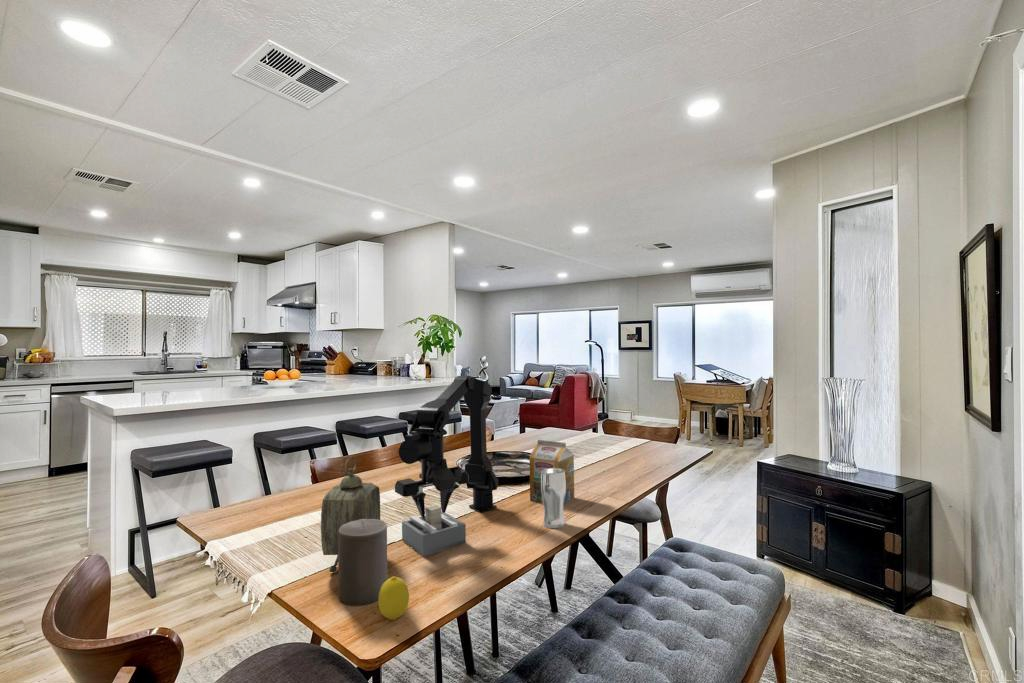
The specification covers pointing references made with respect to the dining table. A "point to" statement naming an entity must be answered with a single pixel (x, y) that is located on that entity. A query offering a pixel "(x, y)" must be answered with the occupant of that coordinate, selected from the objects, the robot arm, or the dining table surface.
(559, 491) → the beer glass
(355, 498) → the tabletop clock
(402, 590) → the lemon
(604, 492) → the dining table surface
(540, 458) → the milk carton
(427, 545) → the grey divided tray
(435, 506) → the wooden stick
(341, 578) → the pillar candle
